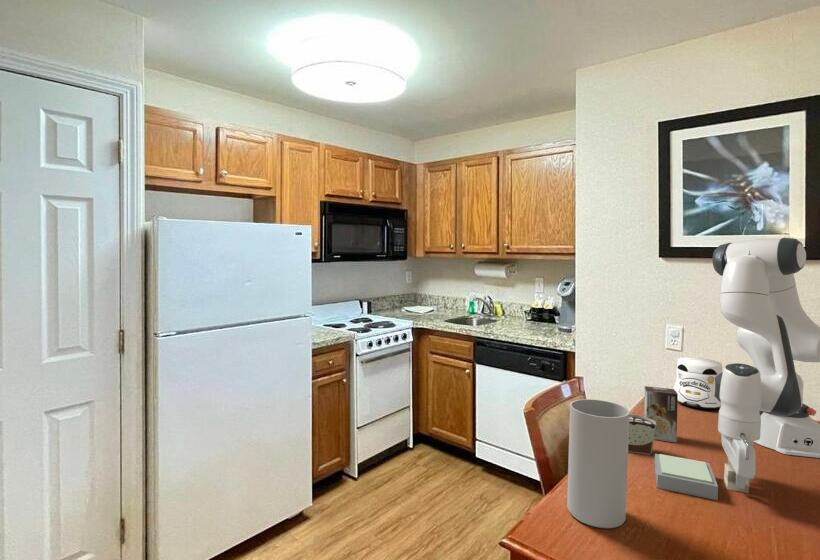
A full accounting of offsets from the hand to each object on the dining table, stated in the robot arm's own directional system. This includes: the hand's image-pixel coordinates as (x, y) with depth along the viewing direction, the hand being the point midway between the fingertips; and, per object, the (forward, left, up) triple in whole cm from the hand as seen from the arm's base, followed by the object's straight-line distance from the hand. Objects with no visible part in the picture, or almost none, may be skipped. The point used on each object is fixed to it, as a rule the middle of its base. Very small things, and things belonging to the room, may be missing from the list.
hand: (736, 479), depth 116 cm
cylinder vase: (+32, +30, -2) cm, 44 cm away
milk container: (0, -73, -2) cm, 73 cm away
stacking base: (+12, +3, -2) cm, 13 cm away
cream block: (0, 0, -2) cm, 2 cm away
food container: (+24, -14, -2) cm, 28 cm away
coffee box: (+16, -28, -2) cm, 32 cm away
